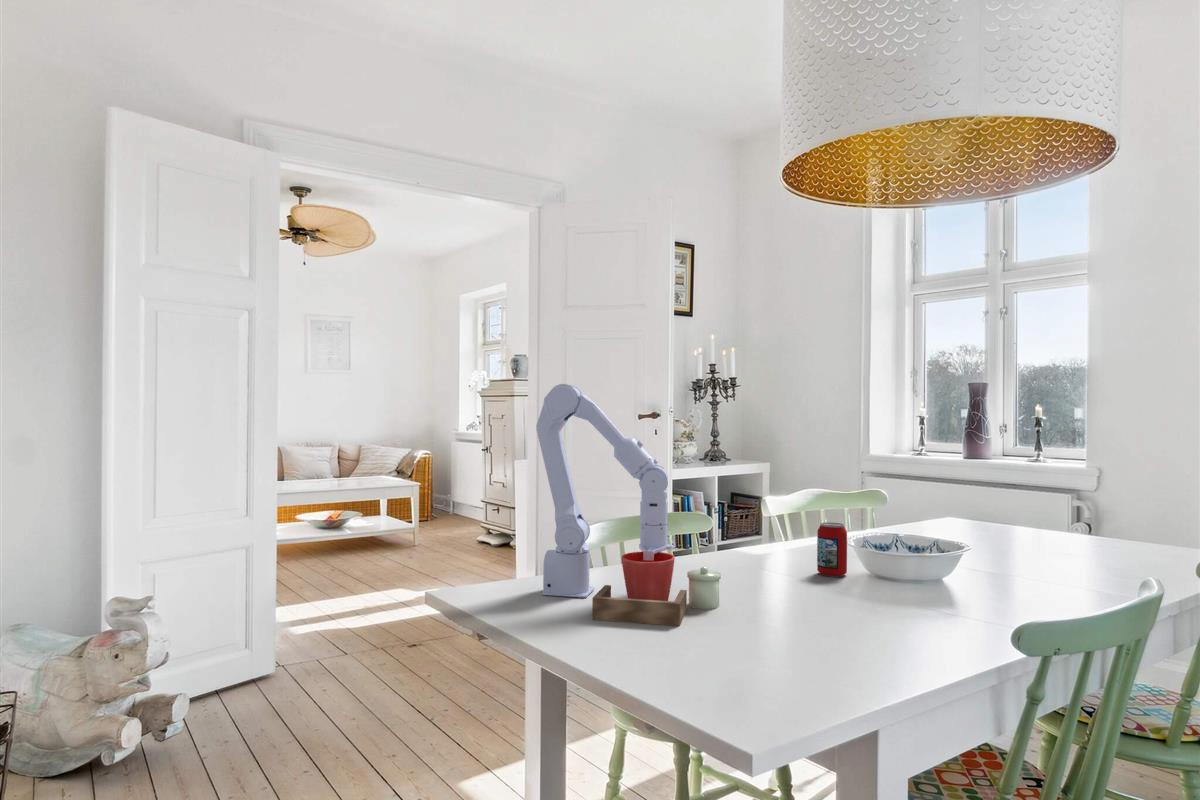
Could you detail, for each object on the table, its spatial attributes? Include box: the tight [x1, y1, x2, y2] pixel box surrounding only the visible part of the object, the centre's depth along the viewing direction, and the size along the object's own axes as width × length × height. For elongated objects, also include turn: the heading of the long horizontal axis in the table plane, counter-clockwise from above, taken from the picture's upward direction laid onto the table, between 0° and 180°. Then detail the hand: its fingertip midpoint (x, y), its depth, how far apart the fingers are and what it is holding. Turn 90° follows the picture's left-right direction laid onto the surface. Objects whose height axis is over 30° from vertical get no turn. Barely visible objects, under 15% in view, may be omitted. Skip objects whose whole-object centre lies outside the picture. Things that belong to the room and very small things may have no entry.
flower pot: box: [621, 551, 676, 601], centre depth 150 cm, size 11×11×10 cm
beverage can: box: [816, 521, 848, 578], centre depth 179 cm, size 7×7×12 cm
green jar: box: [686, 566, 722, 610], centre depth 150 cm, size 7×7×8 cm
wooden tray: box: [591, 584, 688, 627], centre depth 143 cm, size 16×11×4 cm, turn 77°
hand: (653, 588), depth 158 cm, fingers closed
